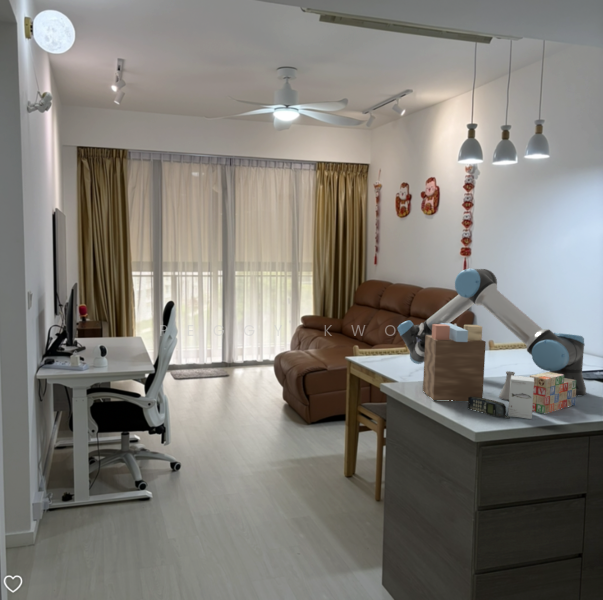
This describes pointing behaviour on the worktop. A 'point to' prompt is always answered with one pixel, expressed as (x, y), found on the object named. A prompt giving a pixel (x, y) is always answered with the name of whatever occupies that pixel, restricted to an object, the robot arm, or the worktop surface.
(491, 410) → the mobile phone
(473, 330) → the oak cube
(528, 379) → the supplement box
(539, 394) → the stack of blocks
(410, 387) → the worktop surface
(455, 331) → the blue bar
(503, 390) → the flask
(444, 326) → the brick cube
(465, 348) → the walnut stand
